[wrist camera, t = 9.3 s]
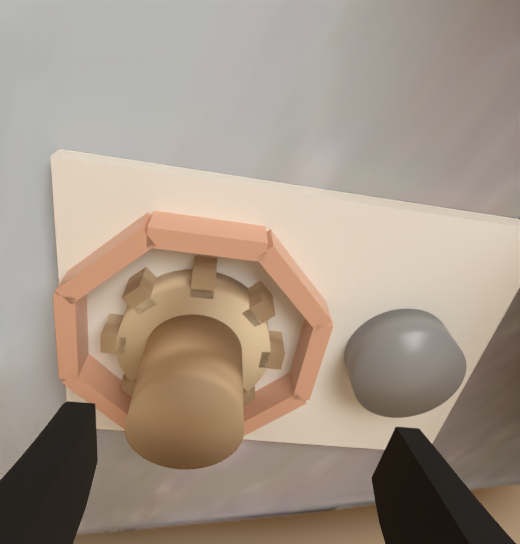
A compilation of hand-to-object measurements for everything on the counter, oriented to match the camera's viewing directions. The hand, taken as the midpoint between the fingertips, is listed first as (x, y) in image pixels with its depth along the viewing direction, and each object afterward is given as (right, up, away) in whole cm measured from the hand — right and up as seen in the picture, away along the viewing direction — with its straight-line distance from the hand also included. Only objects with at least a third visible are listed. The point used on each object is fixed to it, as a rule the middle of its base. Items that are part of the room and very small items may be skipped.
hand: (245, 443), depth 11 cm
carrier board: (+1, +2, +10) cm, 11 cm away
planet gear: (-3, +1, +9) cm, 9 cm away
